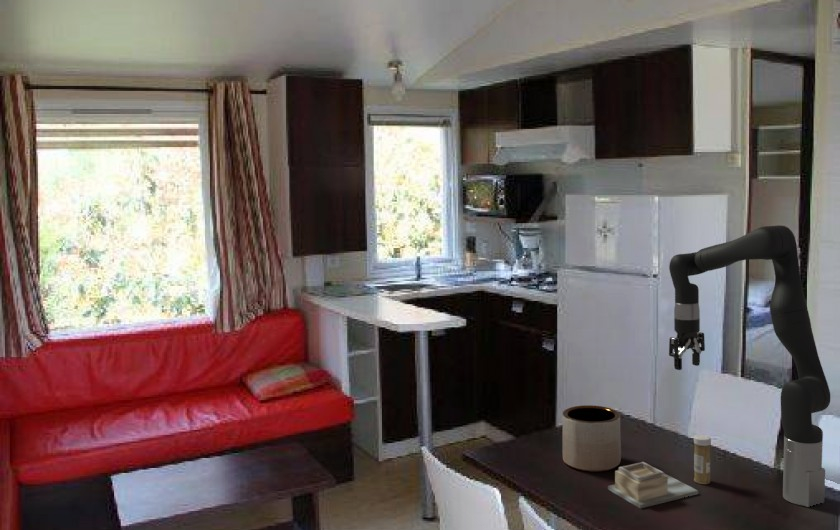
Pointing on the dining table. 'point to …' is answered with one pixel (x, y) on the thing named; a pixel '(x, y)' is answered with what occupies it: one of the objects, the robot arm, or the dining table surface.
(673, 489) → the build base
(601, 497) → the dining table surface
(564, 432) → the planter
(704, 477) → the sprinkles bottle
